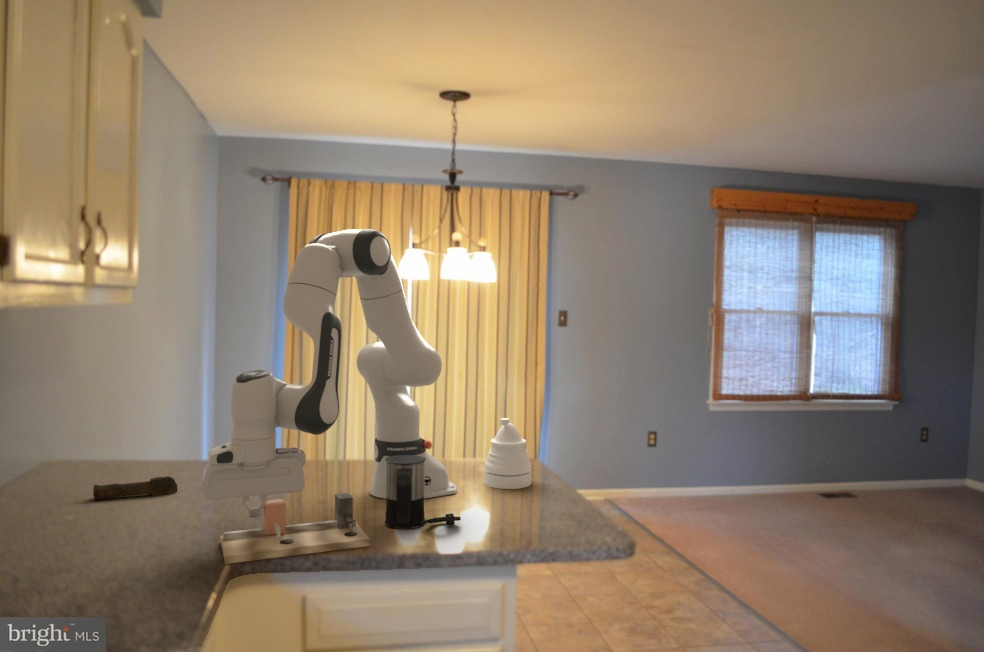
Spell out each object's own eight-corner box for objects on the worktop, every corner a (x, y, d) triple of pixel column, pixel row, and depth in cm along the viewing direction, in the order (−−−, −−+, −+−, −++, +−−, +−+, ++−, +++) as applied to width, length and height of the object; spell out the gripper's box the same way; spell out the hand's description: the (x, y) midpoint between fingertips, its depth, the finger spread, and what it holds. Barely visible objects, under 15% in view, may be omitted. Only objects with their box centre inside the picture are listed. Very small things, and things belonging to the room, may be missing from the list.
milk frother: (380, 519, 173) (380, 455, 172) (445, 513, 179) (446, 450, 178) (395, 538, 160) (396, 469, 159) (465, 531, 165) (466, 464, 165)
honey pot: (516, 491, 199) (517, 423, 198) (475, 484, 205) (476, 418, 204) (539, 481, 209) (540, 417, 209) (499, 475, 216) (500, 412, 215)
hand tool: (92, 502, 184) (92, 484, 184) (94, 498, 188) (94, 480, 187) (176, 496, 190) (176, 478, 190) (177, 492, 194) (177, 474, 194)
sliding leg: (282, 527, 160) (282, 498, 160) (288, 540, 152) (288, 510, 152) (262, 529, 159) (262, 500, 158) (268, 542, 150) (268, 512, 150)
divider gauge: (354, 527, 167) (354, 491, 166) (369, 545, 155) (369, 507, 154) (220, 542, 156) (220, 504, 155) (225, 564, 144) (224, 522, 143)
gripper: (302, 443, 162) (303, 507, 163) (200, 450, 154) (201, 517, 155) (307, 449, 156) (308, 515, 157) (202, 457, 148) (202, 526, 149)
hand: (254, 516), depth 156 cm, fingers closed
